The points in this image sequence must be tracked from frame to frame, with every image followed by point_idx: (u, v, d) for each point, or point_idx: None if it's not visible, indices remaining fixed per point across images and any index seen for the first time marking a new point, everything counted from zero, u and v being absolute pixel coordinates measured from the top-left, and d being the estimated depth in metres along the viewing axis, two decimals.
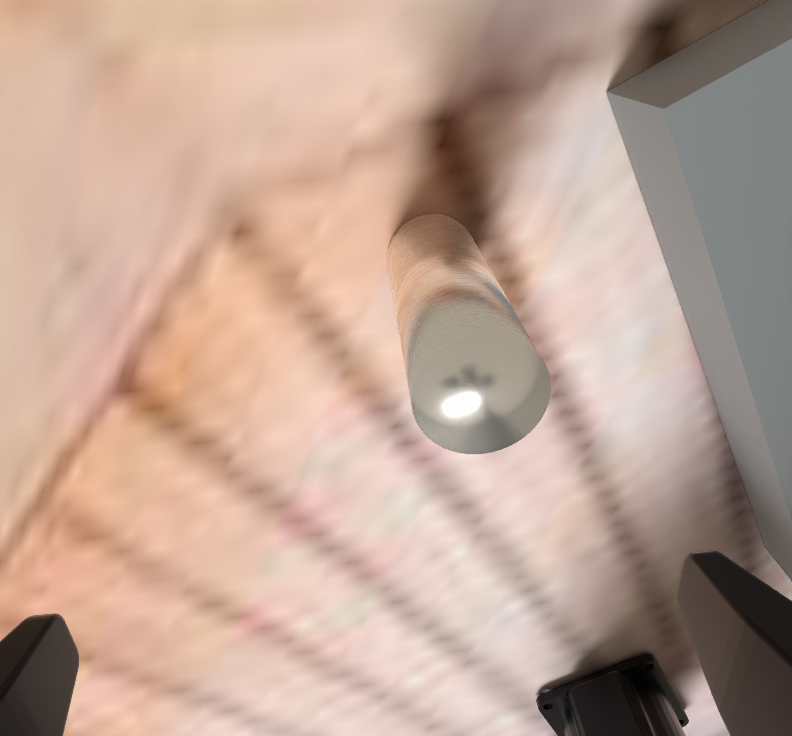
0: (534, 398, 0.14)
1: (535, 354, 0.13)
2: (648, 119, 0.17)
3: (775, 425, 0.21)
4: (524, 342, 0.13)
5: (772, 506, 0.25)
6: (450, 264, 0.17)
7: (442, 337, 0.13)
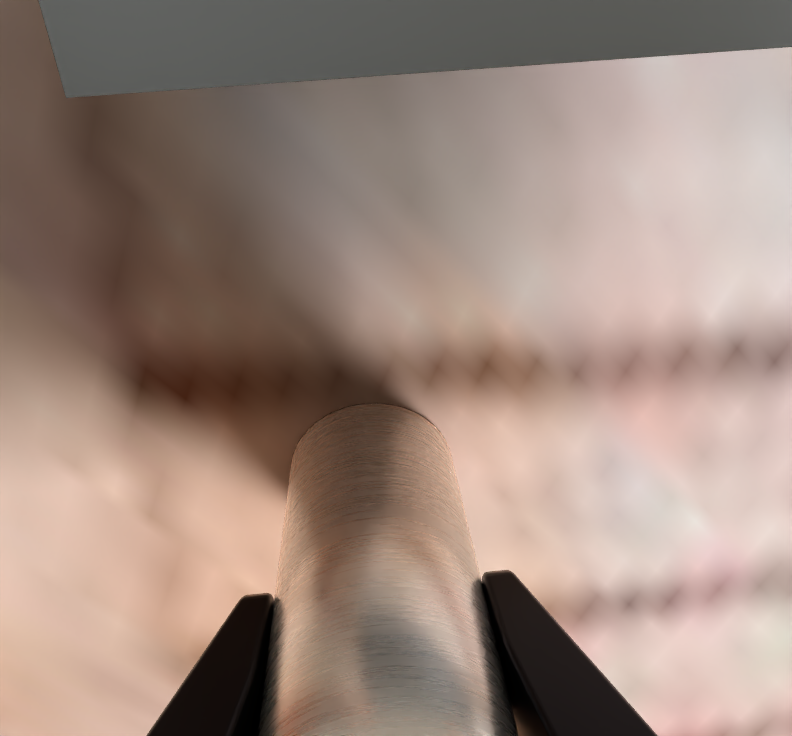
0: None
1: None
2: None
3: None
4: None
5: None
6: (265, 701, 0.07)
7: None
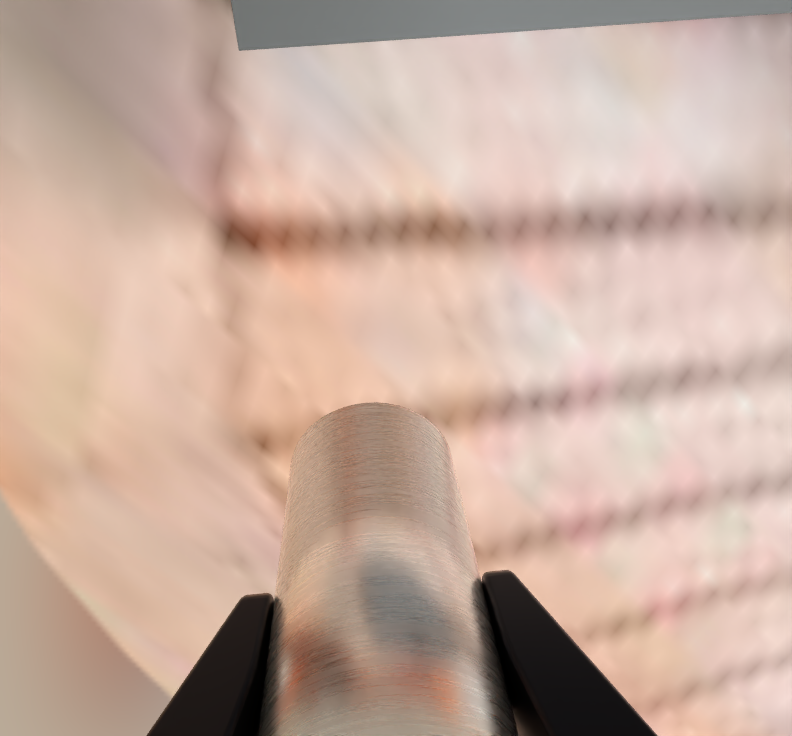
0: None
1: None
2: None
3: None
4: None
5: None
6: (264, 699, 0.07)
7: None
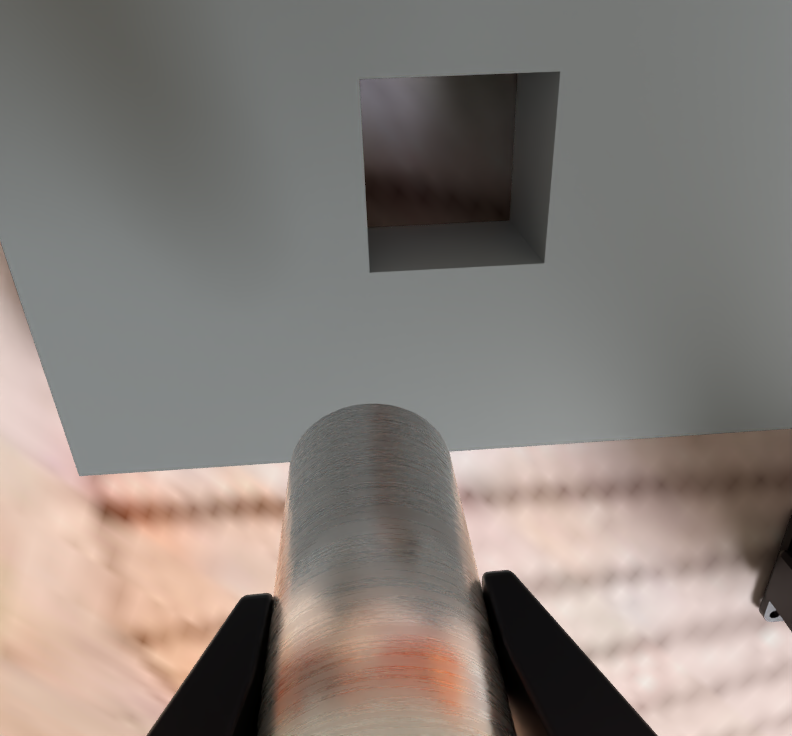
0: None
1: None
2: None
3: (464, 439, 0.19)
4: None
5: None
6: (262, 702, 0.07)
7: None
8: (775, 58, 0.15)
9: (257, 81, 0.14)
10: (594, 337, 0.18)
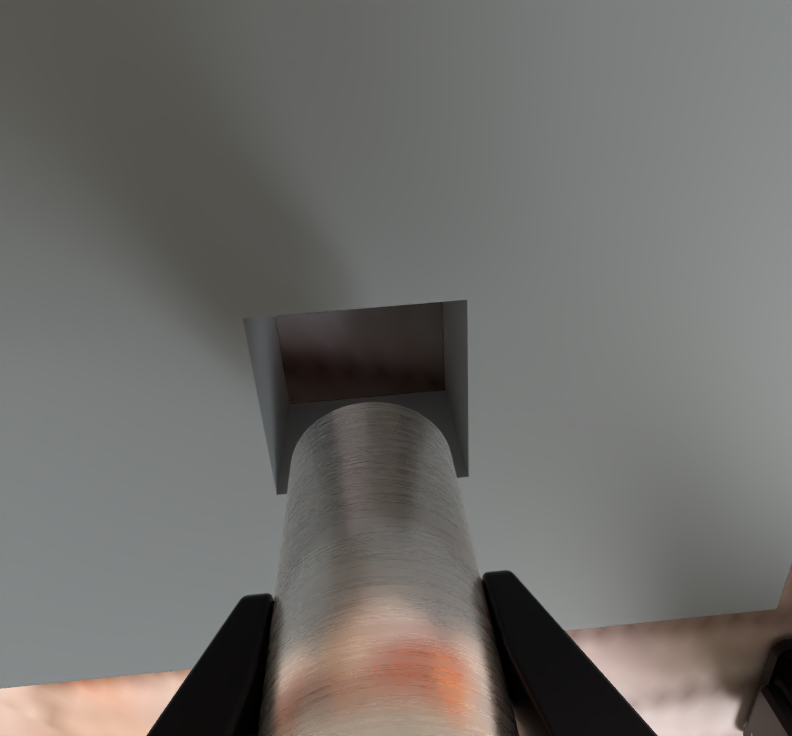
0: None
1: None
2: None
3: None
4: None
5: None
6: (263, 699, 0.07)
7: None
8: (708, 275, 0.13)
9: (129, 326, 0.13)
10: (530, 540, 0.16)
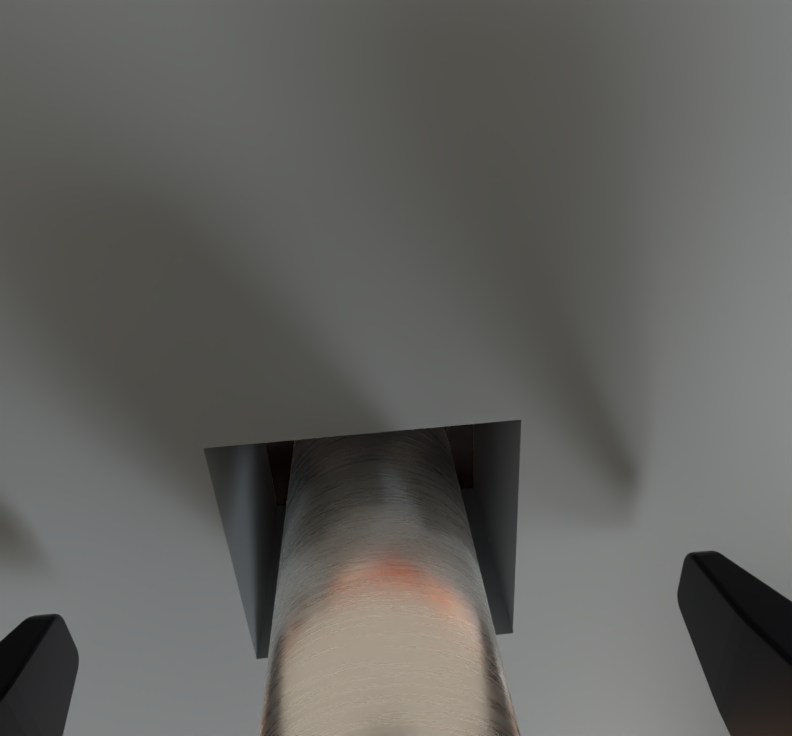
0: None
1: None
2: None
3: None
4: None
5: None
6: (280, 570, 0.09)
7: None
8: None
9: (41, 460, 0.09)
10: (590, 702, 0.12)
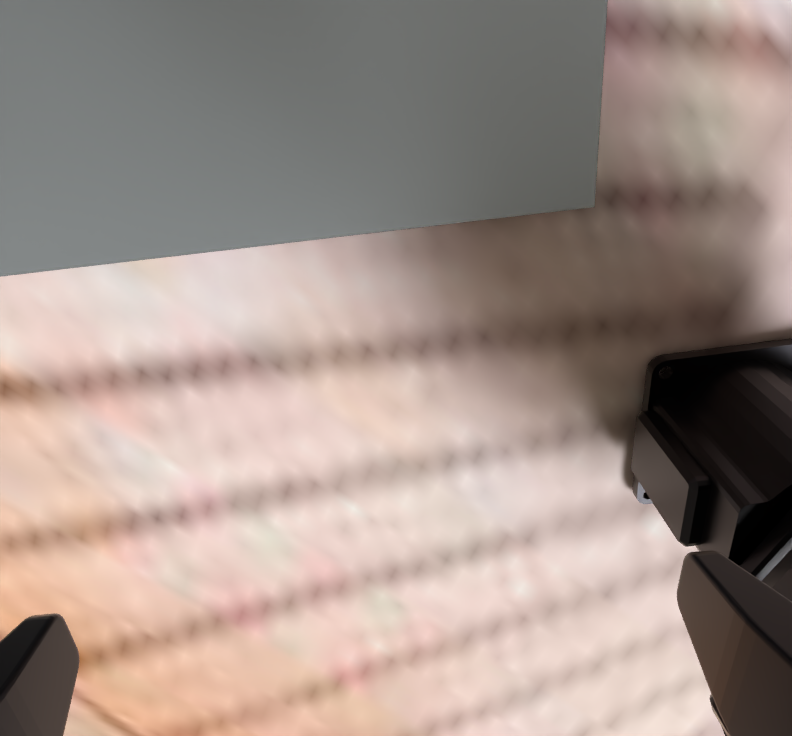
0: None
1: None
2: None
3: (149, 242, 0.15)
4: None
5: None
6: None
7: None
8: None
9: None
10: (274, 81, 0.14)
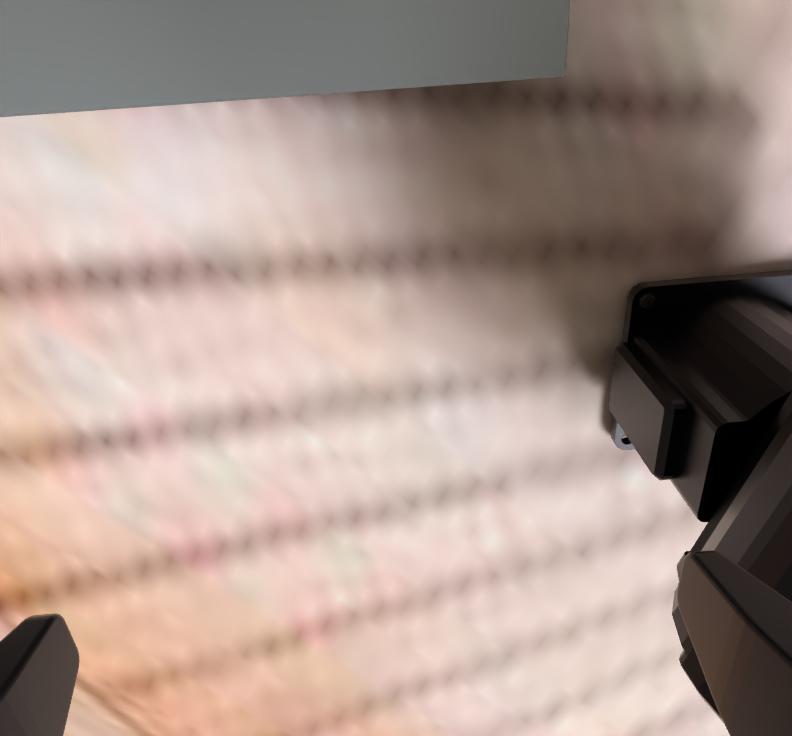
0: None
1: None
2: None
3: (79, 91, 0.14)
4: None
5: None
6: None
7: None
8: None
9: None
10: None
